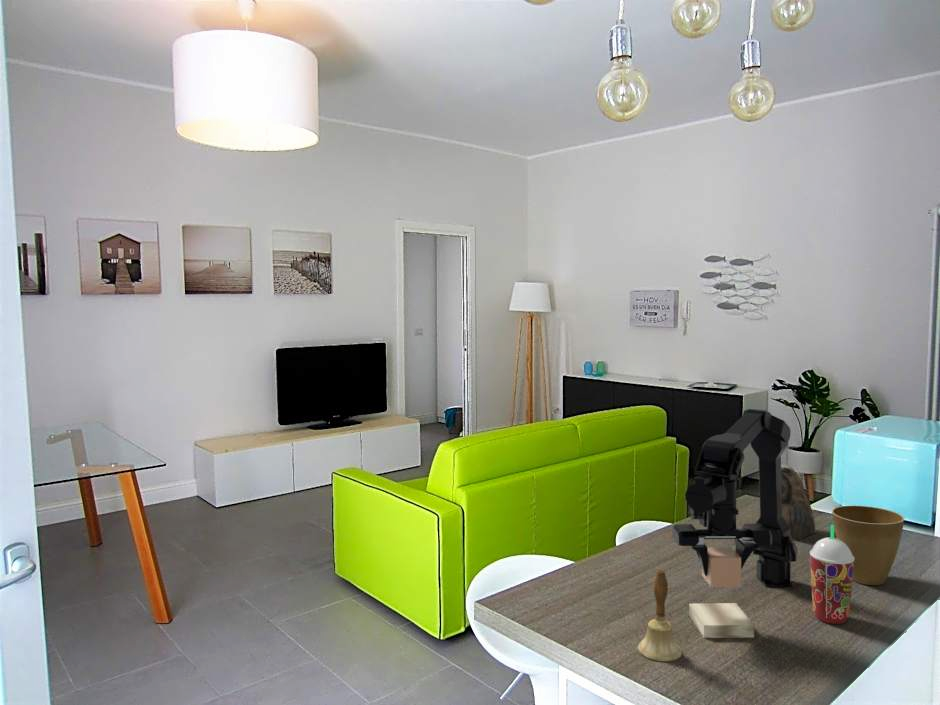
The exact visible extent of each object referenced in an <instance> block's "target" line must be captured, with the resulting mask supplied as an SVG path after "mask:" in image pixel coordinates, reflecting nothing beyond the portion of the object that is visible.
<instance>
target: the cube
mask: <svg viewBox="0 0 940 705" xmlns="http://www.w3.org/2000/svg"><path fill="white" fill-rule="evenodd" d="M707 548H708V573H707V576H705V575H704V573H703V570H702V569H701V576H702V577H703V578H704V580H705V581H706V582H707V583H708V585H709V587H710V588H711V587H712V588H718V587H719V588H720V587H721V588H722V587H723V588H726V587H727V588H728V587H729V588H731V587H732V588H733V587H735V588H737V587H738V588H739V587H742V569H741V557H740V556H739V555H738V554H737V553H736V552H735V551H736V550H734V549H733V548H732V547H731V546H719V547H718V546H717V547H716V546H713V547H711V546H708V547H707Z"/></svg>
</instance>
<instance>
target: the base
mask: <svg viewBox="0 0 940 705" xmlns="http://www.w3.org/2000/svg"><path fill="white" fill-rule="evenodd" d="M688 604H689V607H688V608H689V612H688V614H689V617H690V618H691V619H690V620H692V622H693V623H694V625H695V626H696V628H697V629H698V631H699V633H700V634H701V636H702V637H703V638H704V639H713V638H714V639H715V638H716V639H719V638H721V639H722V638H724V639H725V638H727V639H729V638H730V639H731V638H735V639H736V638H737V639H739V638H755V624H754V623H753V621H752V620H751V619H750V618H749V617H748V616H747V614H746V613H745V612H744V610H742V608H741V606H739V605H738V603H737V602H733V603H732V602H730V603H728V602H724V603H723V602H718V603H717V602H716V603H714V602H713V603H711V602H710V603H709V602H707V603H705V602H704V603H700V602H699V603H696V602H695V603H688Z"/></svg>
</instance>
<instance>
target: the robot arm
mask: <svg viewBox="0 0 940 705" xmlns="http://www.w3.org/2000/svg"><path fill="white" fill-rule="evenodd" d="M790 427H791V426H789V425H788V424H787V422H785V420H783V419H781V418H779V417H778V416H777V417H776V416H775V415H772V414H771V412H769V411H767V410H766V409H758V408H757V409H755V408H748V409H745V410H744V411H743V413H742V416H741V417H740V418H739V419H738V420H737V421H736V422H735V423H734V424H733V425H732V426H731V427H730V428H729V429H728V430H727V431H726V432H724V433H721V434H716V435H713V436H711V437H709V438H707V439H706V440H705V441H704V443H703V444H702V446H701V447H700V451H699V453H698V456H697V457H698V458H697V461H696V464H695V467H694V470H693V474H694V475H698V476H695V478H694V483H692V484H691V485H689V486H688V487H687V489H686V491H685V494H684V495H685V501H686V504H687V505H688V506H689V514H690V519H691V521H692V520H693V521H699V525H702V526H703V527H704V528H706V529H697V528H695V526H694V525H693V524H692V523H691V524H690V523H689V524H688V523H678V524H677V523H676V524H674V525H673V527H672V528H671V529H672V530H671V534H672V535H671V536H672V538H673V540H674V541H675V542H676V544H678V546H682V547H690V548H691V549H692V550H693V551H695V552H696V555H697V558H698V561H699V564H700V568H701V571H702V570H703V573H704V575H705V576H707V573H708V548H707V545H706V544H705V540H734V544H735V550H734V551H735V552H736V553H737V554H738V555H739V556H740V557H741V570H742V569H743V567H744V565H745V564H746V562H747V560H748V559H749V558H750V556H751V554H753V555H755V556H758V560H756V573H755V577H756V578H757V579H758V580H759V581H760V582H761V583H762V584H763V585H764V586H765V587H794V583H793V581H791V567H792V566H791V564H792V562H793V563H794V562H797V556H798V547H797V545H796V544H795V542H794V541H795V540H793V539H792V537H791V534H790V527H789V525H788V524H787V522H786V521H785V519H784V518H783V516H782V487H781V463H782V456H783V454H784V452H785V451H786V449H787V448H788V447H789V441H790V439H791V428H790ZM749 445H750V447H751V449H752V450H753V451H754V453H755V455H756V456H757V457H758V479H759V480H758V482H759V485H758V487H759V515H760V516H759V518H758V519H757V521H756V523H744V524H742V528H737V516H739V509H738V508H737V488H738V487H737V483H738V482H737V477H739V476H740V470H741V468H742V465H743V463H744V460H745V455H744V451H745V449H747V447H748V446H749Z"/></svg>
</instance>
